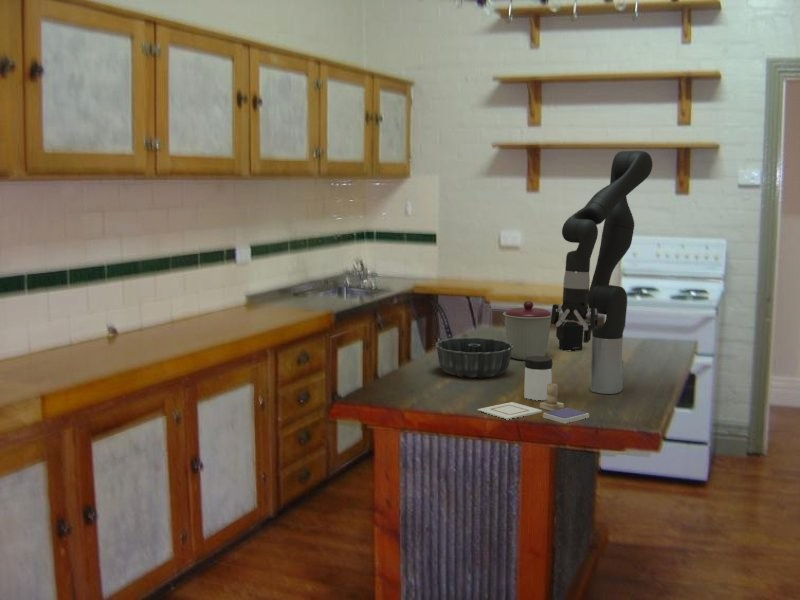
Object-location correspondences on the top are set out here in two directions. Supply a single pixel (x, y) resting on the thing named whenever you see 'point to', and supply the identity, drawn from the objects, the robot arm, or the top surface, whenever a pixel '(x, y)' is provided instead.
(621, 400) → the top surface
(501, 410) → the sheet
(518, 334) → the canister
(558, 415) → the ink pad
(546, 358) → the jar
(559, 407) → the stamp
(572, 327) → the pen holder
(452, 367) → the bundt pan
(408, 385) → the top surface
